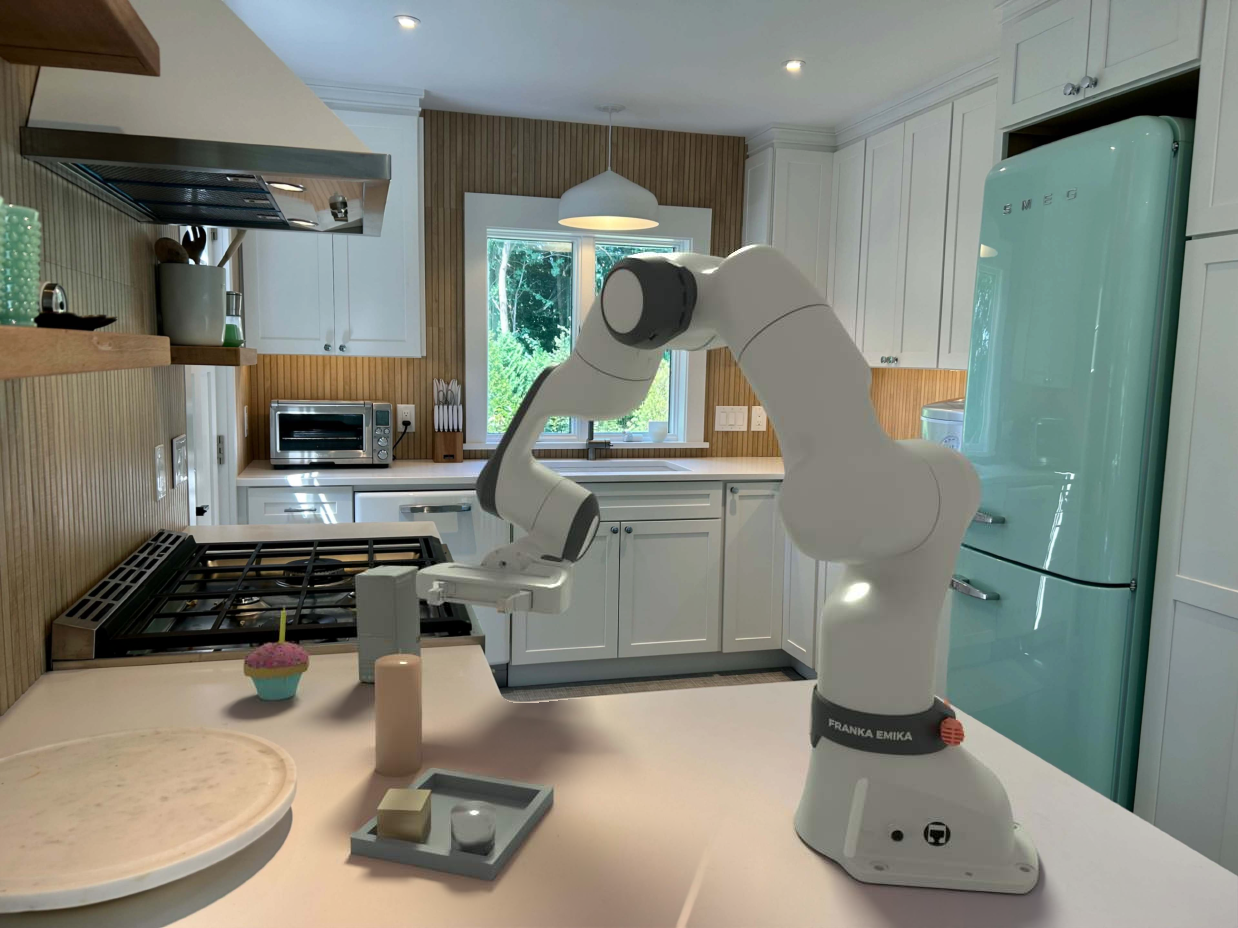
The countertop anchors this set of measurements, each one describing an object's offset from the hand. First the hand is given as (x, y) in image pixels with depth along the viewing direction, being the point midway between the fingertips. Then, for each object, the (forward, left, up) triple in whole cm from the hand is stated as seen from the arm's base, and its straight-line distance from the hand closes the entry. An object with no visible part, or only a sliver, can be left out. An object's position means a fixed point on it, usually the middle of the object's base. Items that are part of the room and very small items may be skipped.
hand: (467, 602), depth 107 cm
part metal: (-13, +26, -16) cm, 33 cm away
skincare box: (+20, -16, -17) cm, 31 cm away
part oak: (-6, +26, -16) cm, 31 cm away
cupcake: (+30, -4, -17) cm, 35 cm away
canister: (+2, +12, -17) cm, 21 cm away
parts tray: (-10, +22, -17) cm, 29 cm away
